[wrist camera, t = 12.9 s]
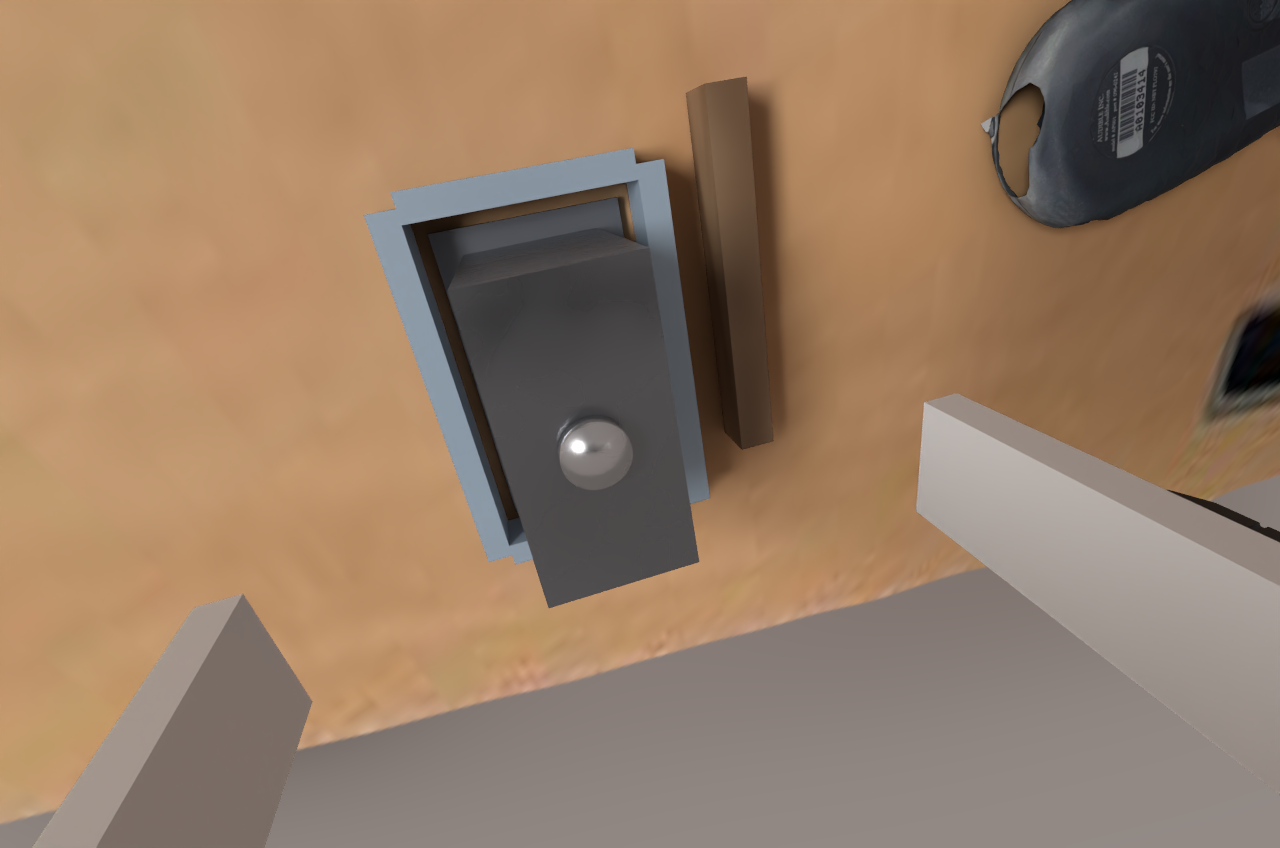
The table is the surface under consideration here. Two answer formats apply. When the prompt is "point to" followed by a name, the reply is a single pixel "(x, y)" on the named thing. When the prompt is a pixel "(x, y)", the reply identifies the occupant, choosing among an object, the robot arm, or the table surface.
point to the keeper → (506, 189)
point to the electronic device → (1141, 99)
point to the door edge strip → (732, 255)
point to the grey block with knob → (580, 406)
